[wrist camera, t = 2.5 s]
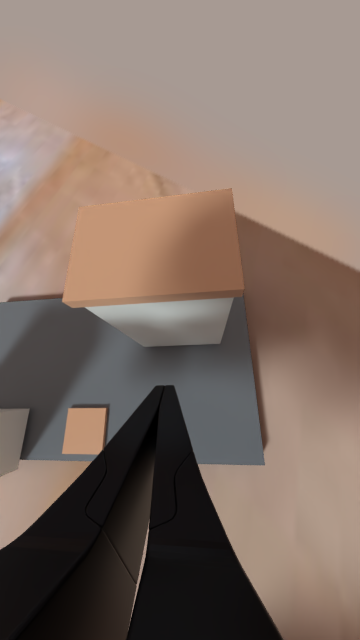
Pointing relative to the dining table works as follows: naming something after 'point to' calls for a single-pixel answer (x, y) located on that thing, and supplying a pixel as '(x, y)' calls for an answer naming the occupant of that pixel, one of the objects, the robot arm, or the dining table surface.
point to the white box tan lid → (158, 267)
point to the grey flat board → (122, 383)
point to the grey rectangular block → (11, 438)
